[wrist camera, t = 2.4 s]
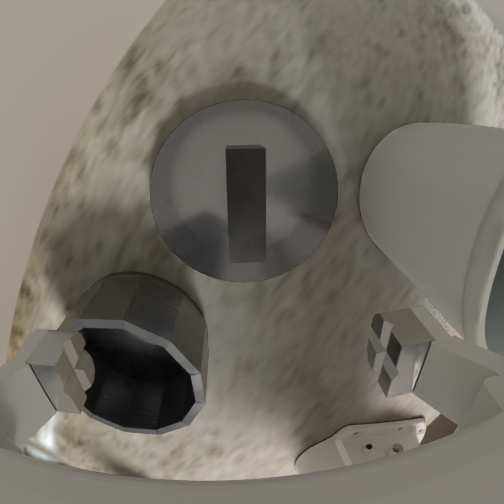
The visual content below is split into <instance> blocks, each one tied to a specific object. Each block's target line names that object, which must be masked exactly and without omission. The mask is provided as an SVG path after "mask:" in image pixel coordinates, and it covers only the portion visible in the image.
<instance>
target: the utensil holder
mask: <svg viewBox="0 0 504 504" xmlns="http://www.w3.org/2000/svg"><path fill="white" fill-rule="evenodd" d="M359 203H360V212H361V216H362V220H363V223H364V226H365V228H366V230H367V232H368V234H369V236H370V238H371V239H372V240H373V242H374V243H375V244H376V245H377V247H378V248H379V249H380V250H381V251H382V252H383V253H384V254H385V255H386V256H387V257H388V259H389V260H390V261H391V262H392V263H393V264H394V265H395V266H396V267H397V268H398V269H399V270H400V271H401V272H402V273H403V274H404V275H405V276H406V277H407V278H408V279H409V280H410V281H411V282H412V283H413V284H414V285H415V286H416V287H417V288H418V289H419V290H420V291H421V292H422V293H423V295H424V296H425V297H426V298H427V299H428V300H429V301H430V302H431V303H432V304H433V305H434V307H435V308H436V309H437V310H438V311H439V312H440V313H441V314H442V316H443V317H444V318H445V319H446V320H447V321H448V322H449V323H450V324H451V326H452V327H453V328H454V329H455V330H456V331H457V332H458V333H459V334H460V335H461V337H462V338H463V339H464V340H466V341H468V342H471V343H473V344H475V345H478V346H480V347H482V348H485V349H487V350H489V351H492V352H494V353H496V354H499V355H501V356H503V357H504V129H503V128H495V127H487V126H478V125H468V124H456V123H433V122H423V123H412V124H407V125H404V126H401V127H399V128H397V129H395V130H393V131H392V132H390V133H389V134H388V135H386V136H385V137H384V138H383V139H382V140H381V141H380V142H379V143H378V145H377V146H376V147H375V148H374V150H373V152H372V153H371V155H370V157H369V158H368V161H367V163H366V165H365V168H364V170H363V174H362V178H361V183H360V192H359Z"/></svg>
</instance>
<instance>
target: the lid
mask: <svg viewBox="0 0 504 504" xmlns="http://www.w3.org/2000/svg"><path fill="white" fill-rule="evenodd" d="M337 199H338V181H337V174H336V169H335V166H334V163H333V159H332V157H331V155H330V153H329V150H328V148H327V147H326V145H325V143H324V142H323V140H322V139H321V137H320V136H319V135H318V134H317V133H316V131H315V130H314V129H313V128H312V127H311V126H310V125H309V124H308V123H307V122H305V121H304V120H303V119H302V118H300V117H299V116H297V115H296V114H294V113H293V112H291V111H289V110H287V109H285V108H283V107H280V106H277V105H274V104H271V103H267V102H262V101H257V100H234V101H227V102H223V103H218V104H215V105H212V106H210V107H207V108H205V109H203V110H201V111H199V112H197V113H195V114H193V115H192V116H191V117H189V118H188V119H186V120H185V121H184V122H182V123H181V124H180V125H179V126H178V127H177V128H176V129H175V130H174V131H173V132H172V134H171V135H170V136H169V137H168V139H167V140H166V141H165V143H164V145H163V146H162V148H161V150H160V152H159V154H158V156H157V159H156V161H155V164H154V167H153V171H152V175H151V183H150V202H151V208H152V213H153V217H154V220H155V223H156V225H157V228H158V230H159V232H160V234H161V236H162V237H163V239H164V241H165V242H166V244H167V245H168V246H169V247H170V249H171V250H172V251H173V252H174V253H175V254H176V255H177V256H178V257H179V258H180V259H181V260H182V261H183V262H185V263H186V264H188V265H189V266H190V267H192V268H193V269H195V270H197V271H199V272H201V273H203V274H205V275H208V276H210V277H213V278H216V279H220V280H224V281H231V282H255V281H261V280H266V279H270V278H273V277H276V276H279V275H281V274H283V273H285V272H287V271H289V270H291V269H293V268H294V267H296V266H297V265H299V264H300V263H302V262H303V261H304V260H305V259H307V258H308V257H309V256H310V255H311V254H312V253H313V252H314V251H315V250H316V249H317V247H318V246H319V245H320V243H321V242H322V240H323V239H324V237H325V236H326V234H327V232H328V230H329V228H330V226H331V223H332V221H333V218H334V215H335V211H336V207H337Z"/></svg>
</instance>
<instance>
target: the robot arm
mask: <svg viewBox="0 0 504 504" xmlns="http://www.w3.org/2000/svg"><path fill="white" fill-rule="evenodd" d="M371 327H372V328H373V330H374V334H373V335H372V336H371V337H370V338H369V341H368V347H367V352H368V360H369V364H370V366H371V368H372V370H373V371H375V372H376V373H378V374H380V376H379V380H378V382H379V384H380V386H381V388H382V390H383V392H384V394H385V396H386V398H388V397H392V396H397V395H402V394H406V393H411V392H413V394H415V395H416V396H417V397H419V398H420V399H422V400H423V401H425V402H426V403H427V404H429V405H430V406H432V407H433V408H434V409H436V410H437V411H439V412H440V413H441V414H443V415H444V416H446V417H447V418H449V419H450V420H451V421H453V422H454V423H456V424H457V425H459V426H458V427H457V429H456V431H455V432H454V434H452V435H449V436H447V437H444V438H441V439H439V440H436V441H433V442H430V443H427V444H425V445H422V446H420V444H419V443H420V442H421V440H422V438H423V436H424V434H425V431H426V424H425V421H424V419H423V418H418V419H411V420H403V421H395V422H385V423H375V424H362V425H349V426H346V427H344V428H342V429H341V430H339V431H338V432H337V433H336V434H335V435H333V436H332V437H331V438H329V439H327V440H325V441H323V442H321V443H318V444H316V445H315V446H313V447H311V448H309V449H308V450H307V451H305V452H304V453H303V454H302V455H301V456H300V457H299V458H298V459H297V461H296V463H295V469H296V471H297V472H298V474H297V475H290V476H281V477H271V478H260V479H246V480H223V481H187V480H165V479H151V478H140V477H130V476H122V475H114V474H107V473H101V472H95V471H89V470H84V469H79V468H74V467H69V466H64V465H60V464H56V463H52V462H48V461H44V460H40V459H36V458H33V457H29V456H26V455H24V454H23V453H22V452H21V451H20V450H19V448H20V447H21V446H22V445H23V444H24V443H25V442H26V441H27V440H28V439H29V438H30V437H31V436H32V435H34V434H35V433H36V432H37V431H38V430H39V429H40V428H41V427H42V426H43V425H44V424H45V423H46V422H47V421H48V420H49V419H50V418H51V417H52V416H53V415H55V414H56V411H59V412H68V413H77V414H81V411H82V409H83V406H84V404H85V401H86V399H87V396H86V393H85V391H86V390H87V389H88V388H90V387H91V386H92V383H93V381H94V373H95V368H94V363H93V360H92V357H91V355H90V354H89V353H87V352H86V351H85V350H84V347H85V344H86V343H85V340H84V338H83V336H82V334H81V333H79V332H78V331H61V330H42V329H38V330H35V331H34V332H33V333H32V334H31V336H30V337H29V339H28V340H27V341H26V343H25V344H24V346H23V347H22V348H21V350H20V351H19V353H18V354H17V356H16V357H15V358H14V360H13V361H12V362H7V363H5V364H4V365H2V366H0V504H504V357H503V356H501V355H499V354H496V353H494V352H492V351H489V350H487V349H485V348H482V347H480V346H478V345H475V344H473V343H471V342H468V341H466V340H464V339H461V338H459V337H457V336H453V337H451V336H450V335H449V334H448V333H447V331H446V330H445V329H444V328H443V327H442V326H441V324H440V323H439V322H438V321H437V320H436V319H435V318H434V316H433V315H432V314H431V313H430V312H429V311H428V310H427V308H426V307H424V306H416V307H411V308H407V309H403V310H397V311H391V312H385V313H378V314H375V315H374V317H373V320H372V325H371Z"/></svg>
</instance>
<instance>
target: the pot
mask: <svg viewBox="0 0 504 504" xmlns="http://www.w3.org/2000/svg"><path fill="white" fill-rule="evenodd" d="M57 330H61V331H78V332H79V333H81V334H82V336H83V338H84V340H85V343H86V344H85V347H84V350H85V351H86V352H87V353H89V354H90V355H91V357H92V360H93V363H94V368H95V373H94V381H93V383H92V386H91V387H90V388H88V389H87V390H86V391H85V393H86V396H87V399H86V401H85V404H84V406H83V409H82V411H83V412H84V413H86V414H87V415H88V416H89V417H91V418H93V419H95V420H98V421H100V422H102V423H104V424H107V425H109V426H112V427H114V428H116V429H119V430H121V431H124V432H133V433H144V434H158V435H159V434H163V433H167V432H170V431H173V430H176V429H179V428H182V427H185V426H188V425H190V423H191V422H192V421H193V419H194V418H195V417H196V416H197V414H198V413H199V412H200V410H201V409H202V408H203V406H204V405H205V402H206V387H207V372H208V358H209V349H208V331H207V325H206V322H205V320H204V317H203V315H202V313H201V311H200V309H199V308H198V307H197V305H196V304H195V302H194V301H193V300H192V299H191V298H190V297H189V296H188V295H187V294H186V293H185V292H183V291H182V290H181V289H180V288H178V287H177V286H175V285H174V284H172V283H170V282H168V281H166V280H164V279H162V278H159V277H157V276H154V275H150V274H146V273H140V272H120V273H116V274H111V275H109V276H106V277H104V278H102V279H101V280H99V281H97V282H96V283H95V284H94V285H93V286H92V287H91V288H90V289H89V290H88V291H86V292H85V293H84V294H82V296H81V297H80V298H79V300H78V301H77V302H76V304H75V305H74V307H73V308H72V309H71V311H70V312H69V314H68V315H67V316H66V318H65V319H64V321H63V322H62V324H61V325H60V326H59V328H58V329H57Z"/></svg>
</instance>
